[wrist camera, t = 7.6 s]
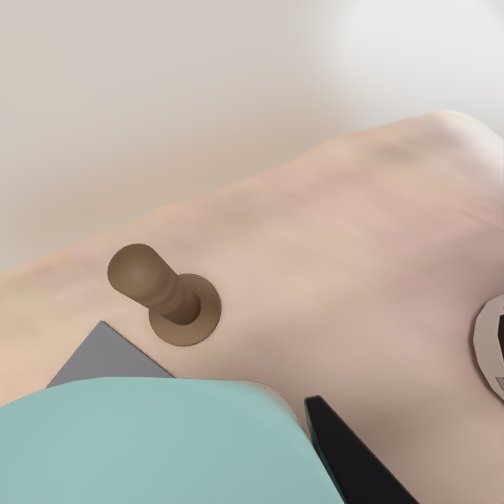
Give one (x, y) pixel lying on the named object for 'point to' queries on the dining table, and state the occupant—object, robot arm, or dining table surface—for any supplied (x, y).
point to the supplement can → (491, 343)
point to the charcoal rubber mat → (107, 359)
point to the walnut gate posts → (166, 295)
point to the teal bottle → (158, 445)
